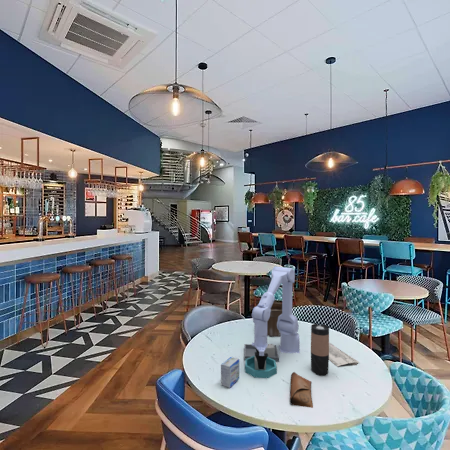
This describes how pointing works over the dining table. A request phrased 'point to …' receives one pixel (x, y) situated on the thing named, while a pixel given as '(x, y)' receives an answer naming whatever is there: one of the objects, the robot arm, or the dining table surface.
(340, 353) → the newspaper
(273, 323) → the plant pot
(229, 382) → the medicine box
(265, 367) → the white rectangular block
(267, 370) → the bowl
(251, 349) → the parts tray
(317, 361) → the travel mug
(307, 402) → the sunglasses case
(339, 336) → the dining table surface
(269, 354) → the light gray cube block
